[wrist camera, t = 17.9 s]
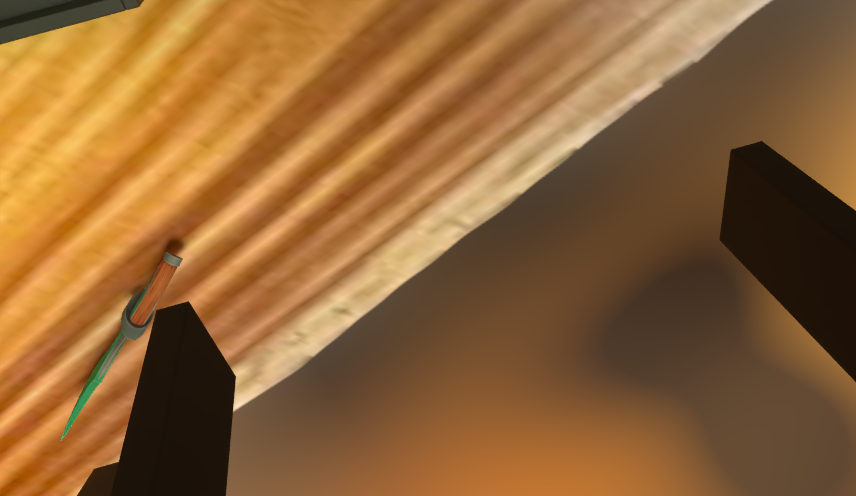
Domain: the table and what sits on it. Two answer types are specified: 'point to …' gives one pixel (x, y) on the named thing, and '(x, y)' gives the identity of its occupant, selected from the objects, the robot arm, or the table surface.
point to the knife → (129, 326)
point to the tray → (52, 15)
